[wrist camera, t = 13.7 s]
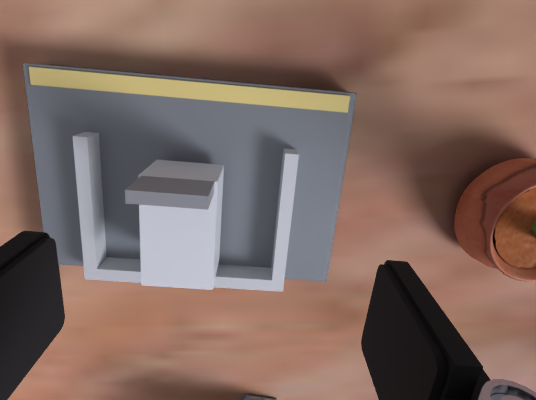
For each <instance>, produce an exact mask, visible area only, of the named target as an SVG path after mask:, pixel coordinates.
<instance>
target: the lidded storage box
mask: <svg viewBox="0 0 536 400" xmlns="http://www.w3.org/2000/svg"><path fill="white" fill-rule="evenodd" d="M223 176H224V165H219V164H206V163H194V162H182V161H169V160H156V161H155V162H153V163H152V164H151V165H150V166H149V167H148V168H146V169H145V170H144V171H143V172H142V173H140V174H139V175H138V179H137V180H136V181H135V182H134V183H132V184H131V185H130V186H129V187H128V188H127V189H125V204H139V222H140V259H141V285H145V286H160V287H176V288H192V289H208V290H213V286H214V282H215V277H216V272H217V268H218V263H219V254H220V235H221V215H222V196H223Z"/></svg>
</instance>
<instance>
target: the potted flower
mask: <svg viewBox="0 0 536 400" xmlns="http://www.w3.org/2000/svg"><path fill="white" fill-rule="evenodd" d="M454 227H455V234H456V237H457V240H458V242H459V244H460V245H461V247H462V248H463V249H464V251H465V252H466V253H468V254H469V255H470V256H471V257H473V258H474V259H476V260H478V261H480V262H481V263H483V264H485V265H487V266H489V267H492V268H496V269H498V270H500V271H501V272H502V273H503V274H505V275H506V276H508V277H510V278H513V279H516V280H521V281H536V159H532V158H518V159H511V160H507V161H504V162H501V163H499V164H496V165H494V166H492V167H491V168H489V169H487V170H486V171H484V172H483V173H481V174H480V175H479V176H477V177H476V178H475V179H474V180H473V181H472V182H471V183H470V184H469V185H468V186H467V188H466V189H465V190H464V192H463V194H462V195H461V197H460V200H459V202H458V205H457V209H456V213H455V220H454Z"/></svg>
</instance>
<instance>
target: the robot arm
mask: <svg viewBox="0 0 536 400" xmlns="http://www.w3.org/2000/svg"><path fill="white" fill-rule="evenodd" d="M64 319H65V314H64V306H63V297H62V289H61V281H60V273H59V264H58V256H57V248H56V242H55V240H54V239H53V238H50V236H49V234H48V233H45V232H33V231H23V232H21V233H19V234H18V235H17V236H15V237H14V238H12V239H11V240H9V241H8V242H6V243H5V244H4V245H2V246H1V247H0V400H7V399H8V398H9V397H10V395H11V394H12V393H13V391H14V390H15V389H16V388H17V386H18V385H19V384H20V382H21V381H22V380H23V378H24V377H25V376H26V374H27V373H28V372H29V371H30V369H31V368H32V367H33V365H34V364H35V363H36V361H37V360H38V359H39V358H40V356H41V355H42V354H43V352H44V351H45V350H46V348H47V347H48V346H49V344H50V343H51V342H52V341H53V339H54V338H55V337H56V335H57V334H58V333H59V331H60V330H61V328H62V326H63V324H64ZM361 344H362V351H363V354H364V357H365V360H366V363H367V366H368V369H369V372H370V375H371V378H372V381H373V384H374V387H375V389H376V392H377V395H378V398H379V400H536V392H534V391H532V390H530V389H529V388H527V387H525V386H523V385H520V384H518V383H515V382H512V381H508V380H504V379H493V380H490V379H489V377H488V376H487V374H486V373H485V372H484V370H483V369H482V368H483V366H482V365H481V363H480V362H479V361H478V359H477V358H476V356H475V355H474V354H473V352H472V351H471V349H470V348H469V347H468V345H467V344H466V342H465V341H464V340H463V338H462V337H461V336H460V334H459V333H458V331H457V330H456V329H455V327H454V326H453V324H452V323H451V322H450V320H449V319H448V317H447V316H446V315H445V313H444V312H443V310H442V309H441V308H440V306H439V305H438V303H437V302H436V301H435V299H434V298H433V297H432V295H431V294H430V292H429V291H428V290H427V288H426V287H425V285H424V284H423V283H422V281H421V280H420V278H419V277H418V276H417V274H416V273H415V271H414V270H413V269H412V267H411V266H410V264H409V263H408V262H404V261H391V260H387V261H386V262H385V264H384V265H381V264H380V265H379V267H378V270H377V274H376V278H375V283H374V287H373V291H372V296H371V300H370V304H369V309H368V313H367V317H366V322H365V326H364V330H363V335H362V341H361Z"/></svg>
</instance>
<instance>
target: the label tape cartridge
mask: <svg viewBox="0 0 536 400" xmlns="http://www.w3.org/2000/svg"><path fill="white" fill-rule="evenodd" d="M244 400H277V399H276V398H272V397H265V396H257V395H250V394H246V395H245V397H244Z"/></svg>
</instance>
